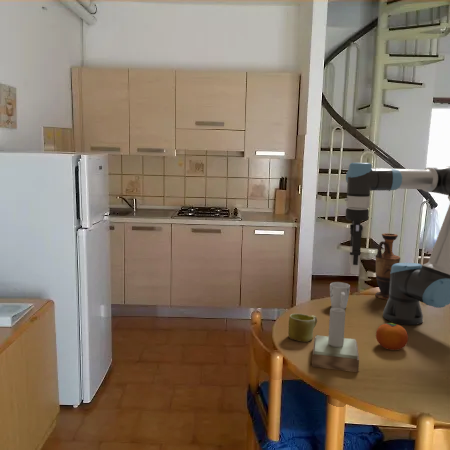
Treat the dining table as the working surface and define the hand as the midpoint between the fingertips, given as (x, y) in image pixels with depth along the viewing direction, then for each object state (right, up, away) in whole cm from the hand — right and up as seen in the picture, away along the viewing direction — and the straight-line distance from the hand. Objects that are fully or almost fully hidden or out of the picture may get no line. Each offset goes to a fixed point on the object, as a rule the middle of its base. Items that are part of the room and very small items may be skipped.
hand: (353, 269), depth 157 cm
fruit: (+13, -27, 0) cm, 30 cm away
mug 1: (-16, -26, +8) cm, 31 cm away
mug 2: (+5, -21, +39) cm, 45 cm away
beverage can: (-9, -24, -11) cm, 28 cm away
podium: (-9, -29, -10) cm, 32 cm away
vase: (+31, -19, +56) cm, 66 cm away
